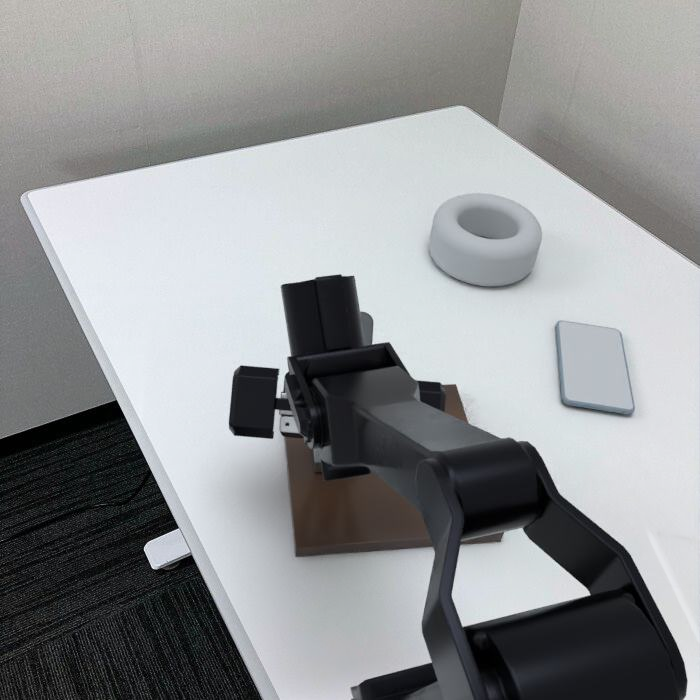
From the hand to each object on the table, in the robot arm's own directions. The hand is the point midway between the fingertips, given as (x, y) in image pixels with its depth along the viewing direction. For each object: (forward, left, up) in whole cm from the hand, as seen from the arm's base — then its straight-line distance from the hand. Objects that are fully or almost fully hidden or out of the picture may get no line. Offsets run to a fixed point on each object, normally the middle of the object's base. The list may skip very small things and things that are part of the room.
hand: (337, 405), depth 77 cm
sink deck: (-2, -5, -7) cm, 9 cm away
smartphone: (+11, -33, -7) cm, 35 cm away
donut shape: (+34, -25, -7) cm, 43 cm away
